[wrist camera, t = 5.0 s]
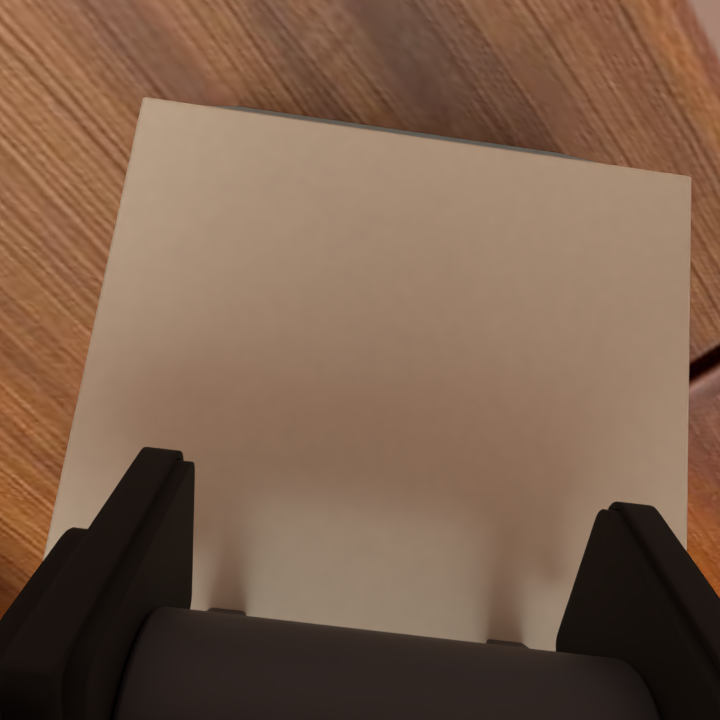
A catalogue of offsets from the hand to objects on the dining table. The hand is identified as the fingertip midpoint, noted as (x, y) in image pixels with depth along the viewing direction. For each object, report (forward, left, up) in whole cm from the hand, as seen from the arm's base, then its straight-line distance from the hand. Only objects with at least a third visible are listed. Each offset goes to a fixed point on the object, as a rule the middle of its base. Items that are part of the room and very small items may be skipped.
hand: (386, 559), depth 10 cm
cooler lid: (0, 0, -3) cm, 3 cm away
